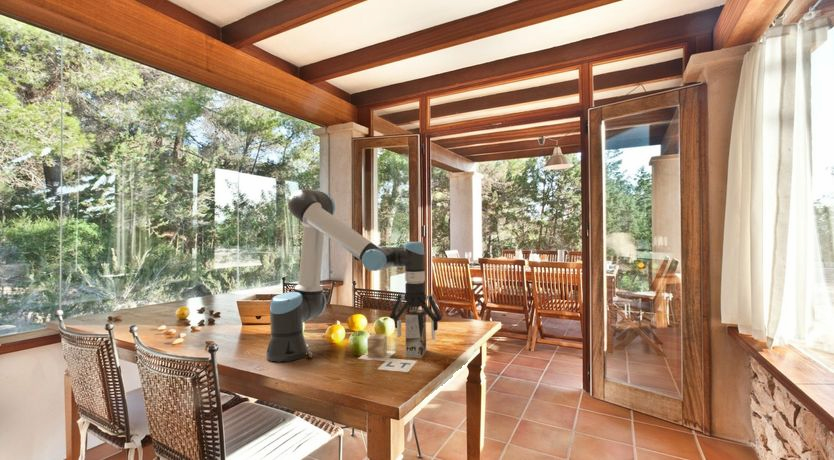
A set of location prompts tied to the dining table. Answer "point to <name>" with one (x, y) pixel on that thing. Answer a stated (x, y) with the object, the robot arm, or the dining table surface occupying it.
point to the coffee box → (415, 333)
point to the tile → (397, 365)
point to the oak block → (377, 345)
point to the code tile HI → (387, 356)
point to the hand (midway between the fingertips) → (416, 337)
